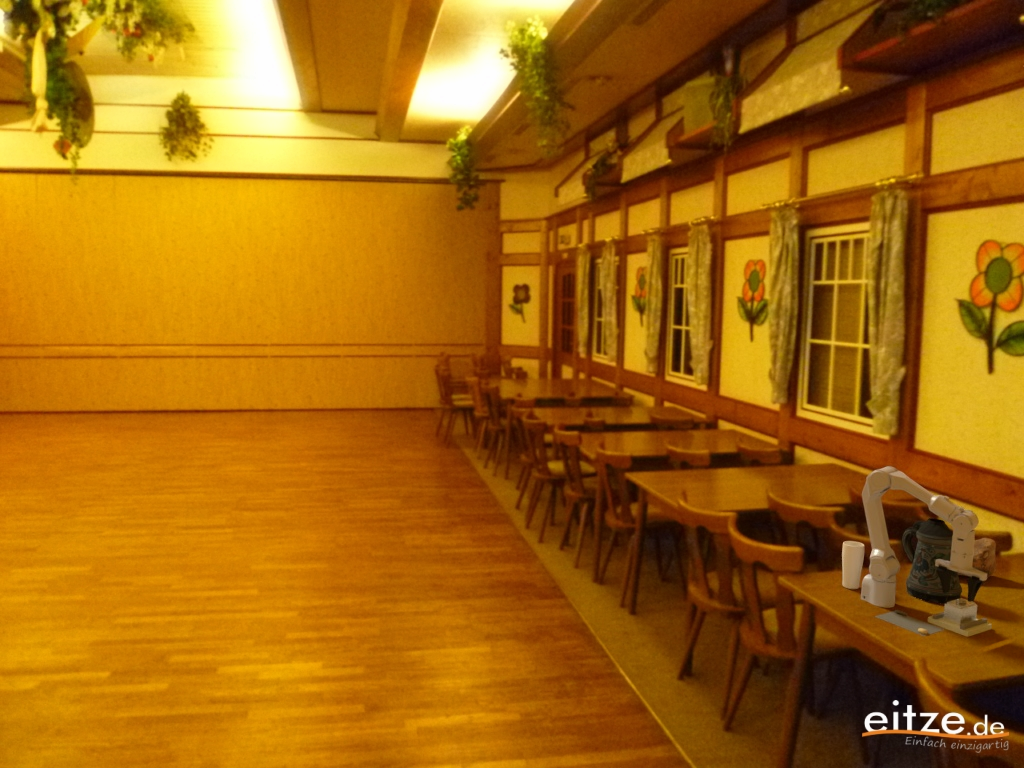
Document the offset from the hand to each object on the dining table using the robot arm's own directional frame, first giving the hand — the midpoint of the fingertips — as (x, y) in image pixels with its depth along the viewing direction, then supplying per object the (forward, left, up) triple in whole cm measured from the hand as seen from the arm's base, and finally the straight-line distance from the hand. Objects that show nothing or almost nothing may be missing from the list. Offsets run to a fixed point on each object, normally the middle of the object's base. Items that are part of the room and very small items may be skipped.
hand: (958, 596), depth 239 cm
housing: (+1, 0, -7) cm, 7 cm away
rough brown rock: (-29, +47, -10) cm, 56 cm away
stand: (+1, 0, -9) cm, 9 cm away
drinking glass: (-37, +1, -10) cm, 38 cm away
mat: (-7, -12, -9) cm, 17 cm away
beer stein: (-21, +19, -10) cm, 29 cm away
